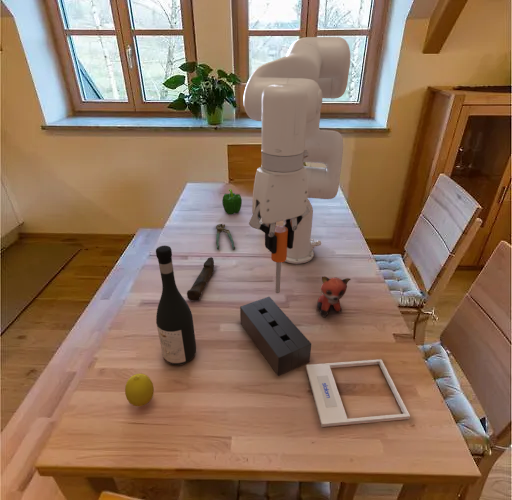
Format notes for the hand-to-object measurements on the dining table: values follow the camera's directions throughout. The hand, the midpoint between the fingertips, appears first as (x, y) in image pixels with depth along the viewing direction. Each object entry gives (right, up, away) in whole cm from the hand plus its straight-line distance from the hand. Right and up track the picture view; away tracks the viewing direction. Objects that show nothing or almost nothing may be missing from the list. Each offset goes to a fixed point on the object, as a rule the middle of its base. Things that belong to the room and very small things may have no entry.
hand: (279, 247), depth 73 cm
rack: (-1, -24, +17) cm, 29 cm away
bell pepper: (-15, +16, +82) cm, 85 cm away
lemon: (-29, -33, +2) cm, 44 cm away
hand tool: (-22, -11, +38) cm, 45 cm away
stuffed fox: (+16, -17, +28) cm, 37 cm away
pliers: (-17, +4, +63) cm, 65 cm away
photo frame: (+16, -31, +4) cm, 36 cm away
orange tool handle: (0, -10, +6) cm, 12 cm away
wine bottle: (-23, -26, +13) cm, 37 cm away
